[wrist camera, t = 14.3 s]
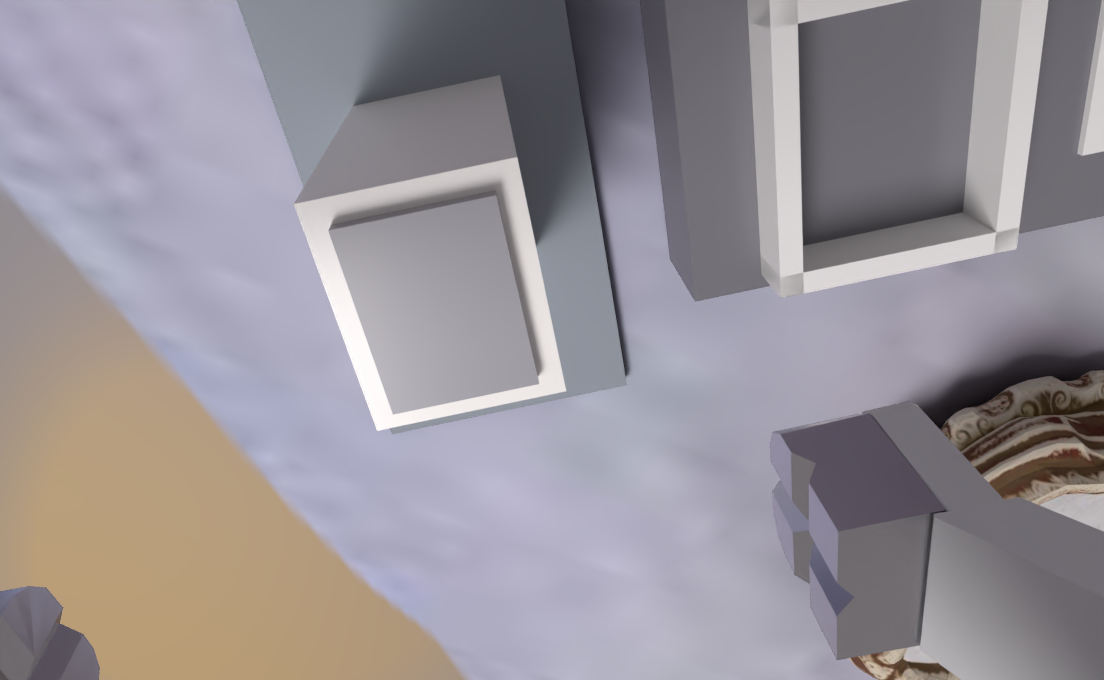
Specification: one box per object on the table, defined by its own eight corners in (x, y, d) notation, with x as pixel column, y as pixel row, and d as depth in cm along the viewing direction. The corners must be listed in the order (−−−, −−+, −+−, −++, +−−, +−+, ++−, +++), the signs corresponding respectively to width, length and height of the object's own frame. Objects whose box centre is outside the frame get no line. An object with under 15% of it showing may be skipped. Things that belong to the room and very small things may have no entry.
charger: (352, 105, 20) (290, 209, 13) (500, 74, 20) (518, 161, 13) (404, 273, 23) (375, 439, 16) (535, 246, 23) (567, 398, 16)
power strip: (638, -18, 20) (679, -2, 16) (1316, -162, 20) (1524, -181, 16) (670, 259, 24) (710, 326, 20) (1236, 140, 24) (1388, 184, 20)
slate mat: (201, -114, 18) (196, -115, 18) (533, -184, 18) (534, -187, 18) (393, 427, 26) (392, 434, 26) (624, 378, 26) (626, 385, 26)
